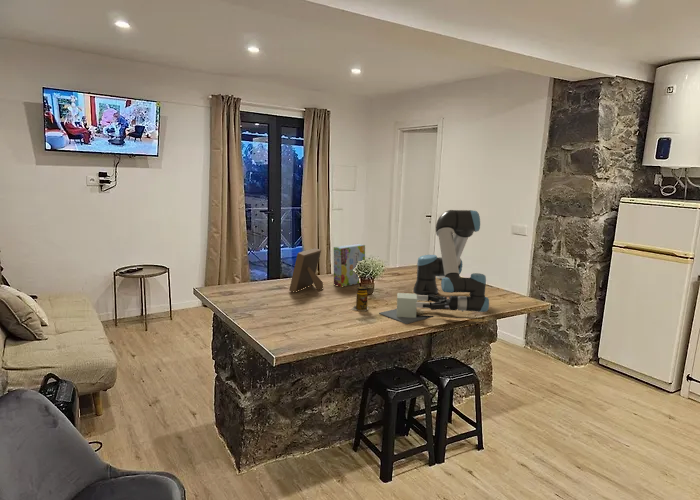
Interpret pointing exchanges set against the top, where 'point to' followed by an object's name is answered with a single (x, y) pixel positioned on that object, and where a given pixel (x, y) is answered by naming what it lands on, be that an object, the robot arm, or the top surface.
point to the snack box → (347, 263)
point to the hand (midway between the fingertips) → (415, 301)
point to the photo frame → (306, 270)
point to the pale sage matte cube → (406, 305)
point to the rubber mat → (406, 320)
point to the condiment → (361, 299)
